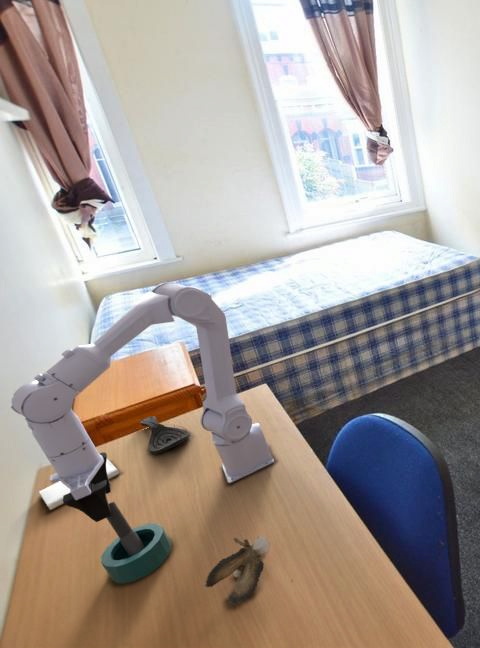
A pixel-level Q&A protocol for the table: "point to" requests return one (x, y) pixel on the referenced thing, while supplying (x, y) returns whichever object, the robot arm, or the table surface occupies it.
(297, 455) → the table surface
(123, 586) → the table surface
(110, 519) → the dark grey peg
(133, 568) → the teal hollow cylinder
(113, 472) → the hard drive
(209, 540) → the table surface
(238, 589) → the eagle figurine
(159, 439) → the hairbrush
